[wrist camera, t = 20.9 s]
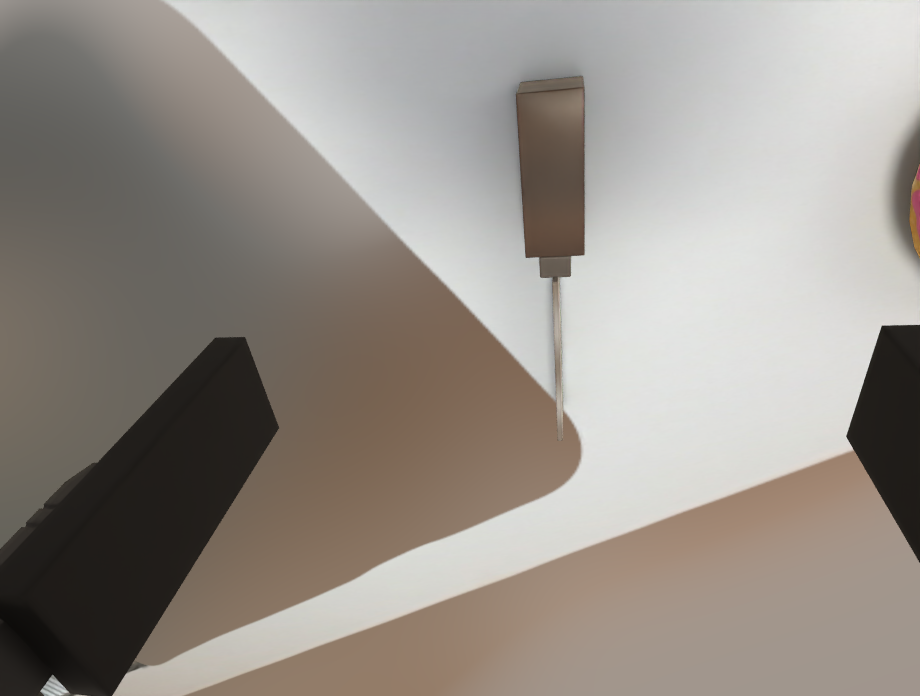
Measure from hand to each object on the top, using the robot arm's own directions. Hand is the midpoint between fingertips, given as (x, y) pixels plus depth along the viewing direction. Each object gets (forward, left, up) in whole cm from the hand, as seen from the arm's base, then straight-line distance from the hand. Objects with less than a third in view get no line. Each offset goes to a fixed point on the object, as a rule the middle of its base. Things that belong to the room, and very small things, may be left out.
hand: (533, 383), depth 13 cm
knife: (+7, 0, -21) cm, 22 cm away
